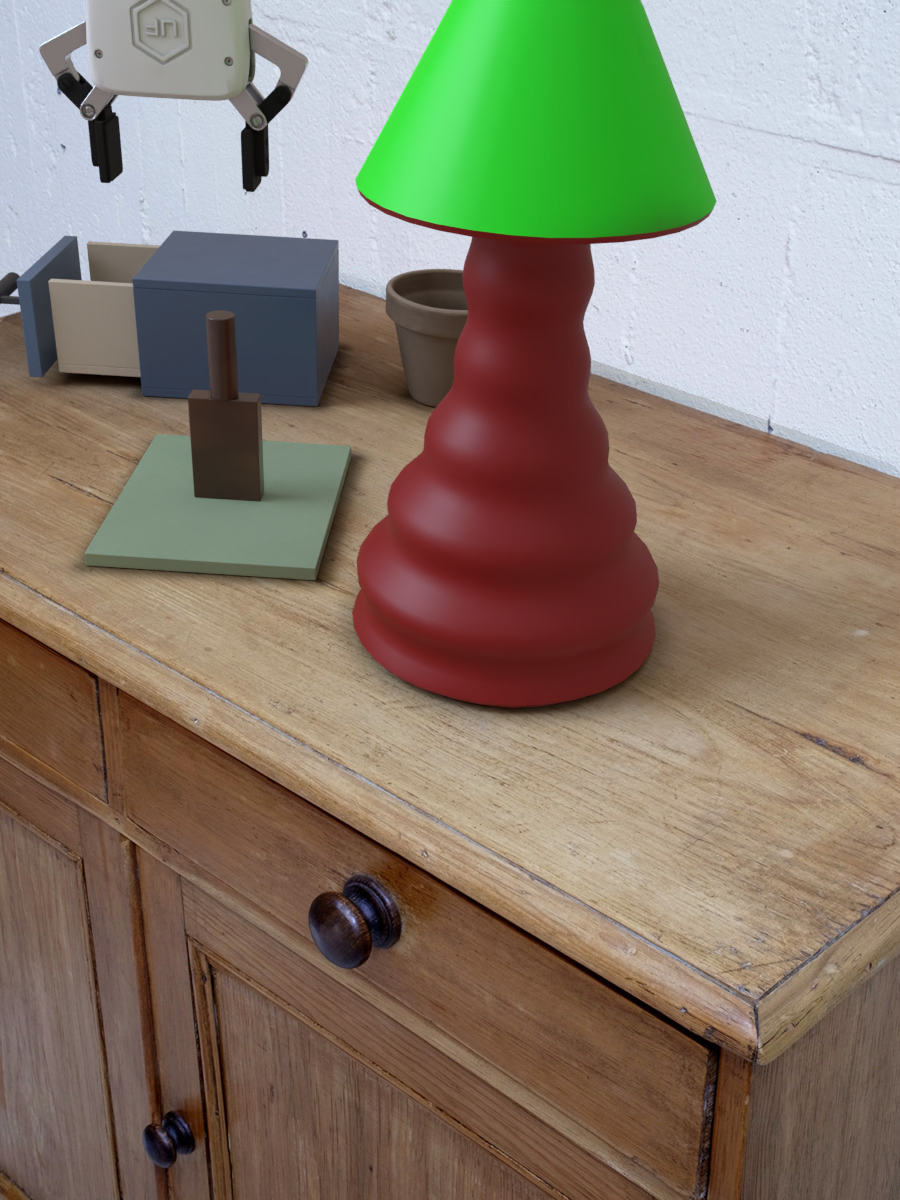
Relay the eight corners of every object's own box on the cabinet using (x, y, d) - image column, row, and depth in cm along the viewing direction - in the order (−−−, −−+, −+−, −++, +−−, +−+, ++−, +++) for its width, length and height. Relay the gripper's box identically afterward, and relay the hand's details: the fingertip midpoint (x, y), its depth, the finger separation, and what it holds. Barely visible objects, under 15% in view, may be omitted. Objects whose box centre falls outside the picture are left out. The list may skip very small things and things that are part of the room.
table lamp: (421, 528, 97) (445, -176, 74) (684, 587, 92) (799, -157, 68) (299, 665, 81) (280, -176, 58) (607, 747, 76) (724, -151, 52)
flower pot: (536, 398, 119) (545, 290, 114) (450, 432, 112) (455, 319, 107) (444, 362, 126) (448, 259, 121) (357, 392, 119) (358, 283, 113)
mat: (85, 565, 91) (84, 553, 90) (157, 444, 108) (156, 433, 107) (315, 580, 90) (315, 568, 90) (351, 456, 107) (351, 445, 107)
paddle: (193, 498, 98) (181, 317, 90) (199, 486, 99) (187, 307, 92) (260, 503, 98) (253, 321, 90) (265, 491, 99) (258, 312, 92)
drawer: (-24, 373, 117) (-39, 276, 112) (26, 322, 128) (14, 232, 123) (191, 386, 116) (184, 289, 111) (222, 334, 127) (217, 244, 123)
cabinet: (142, 396, 116) (131, 278, 111) (180, 338, 129) (173, 230, 123) (317, 406, 116) (316, 289, 110) (339, 347, 128) (338, 239, 123)
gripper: (3, -107, 77) (38, 189, 86) (295, -91, 77) (299, 205, 86) (44, -114, 84) (73, 162, 93) (314, -100, 83) (317, 176, 92)
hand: (182, 182), depth 89 cm, fingers open, 9 cm apart
